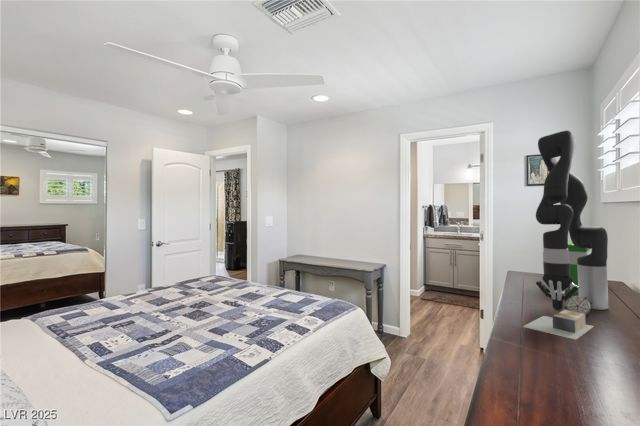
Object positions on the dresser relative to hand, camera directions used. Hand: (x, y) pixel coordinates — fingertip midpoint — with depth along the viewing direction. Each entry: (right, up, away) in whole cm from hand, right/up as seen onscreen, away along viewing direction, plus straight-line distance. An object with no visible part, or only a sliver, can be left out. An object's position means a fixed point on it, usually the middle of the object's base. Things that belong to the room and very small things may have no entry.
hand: (558, 310), depth 110 cm
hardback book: (+41, -5, +40) cm, 57 cm away
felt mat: (-2, -5, -2) cm, 6 cm away
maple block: (-3, -3, -6) cm, 7 cm away
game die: (+14, -5, +9) cm, 17 cm away
